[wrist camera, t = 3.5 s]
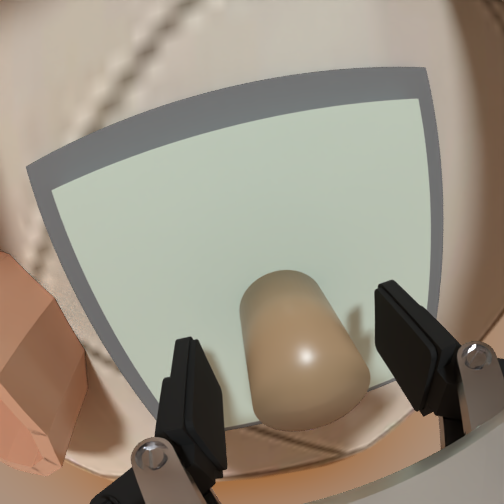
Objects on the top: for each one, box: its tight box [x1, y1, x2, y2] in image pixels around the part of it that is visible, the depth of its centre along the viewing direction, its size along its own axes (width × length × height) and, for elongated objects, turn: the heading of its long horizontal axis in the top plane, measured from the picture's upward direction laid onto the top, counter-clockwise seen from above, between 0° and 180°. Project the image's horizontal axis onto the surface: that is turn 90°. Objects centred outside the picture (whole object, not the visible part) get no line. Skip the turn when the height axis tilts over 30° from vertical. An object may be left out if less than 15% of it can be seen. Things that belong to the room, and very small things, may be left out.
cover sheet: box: [51, 99, 431, 431], centre depth 11 cm, size 15×15×6 cm
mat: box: [26, 67, 443, 431], centre depth 13 cm, size 18×18×1 cm
